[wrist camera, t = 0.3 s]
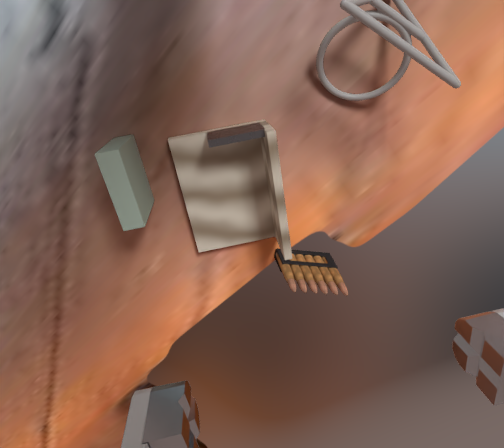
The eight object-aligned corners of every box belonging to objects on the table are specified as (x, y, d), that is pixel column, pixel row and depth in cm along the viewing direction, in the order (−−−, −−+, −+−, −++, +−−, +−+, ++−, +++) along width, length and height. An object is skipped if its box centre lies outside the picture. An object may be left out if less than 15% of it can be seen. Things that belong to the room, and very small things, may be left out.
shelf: (168, 137, 52) (161, 152, 44) (264, 119, 53) (275, 130, 44) (198, 248, 61) (198, 278, 53) (280, 231, 62) (292, 258, 53)
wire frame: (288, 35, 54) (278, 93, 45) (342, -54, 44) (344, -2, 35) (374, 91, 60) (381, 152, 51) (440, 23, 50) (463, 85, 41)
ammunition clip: (274, 257, 64) (288, 296, 53) (275, 248, 63) (290, 286, 52) (327, 261, 66) (351, 300, 55) (329, 253, 65) (354, 290, 54)
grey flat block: (136, 203, 56) (123, 231, 47) (113, 137, 51) (94, 154, 42) (154, 200, 56) (144, 226, 47) (133, 134, 51) (118, 149, 42)
